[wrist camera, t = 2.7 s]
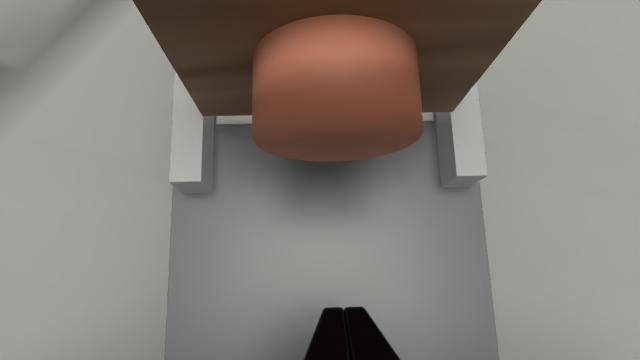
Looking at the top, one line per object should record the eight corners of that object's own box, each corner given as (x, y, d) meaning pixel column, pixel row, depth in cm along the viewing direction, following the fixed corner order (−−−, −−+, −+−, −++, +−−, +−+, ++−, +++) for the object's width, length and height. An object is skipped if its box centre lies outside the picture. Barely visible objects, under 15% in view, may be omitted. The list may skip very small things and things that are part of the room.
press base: (486, 359, 17) (523, 373, 14) (174, 369, 16) (145, 386, 13) (449, 10, 20) (474, -39, 17) (189, 13, 20) (168, -36, 17)
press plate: (458, 171, 15) (608, 51, 7) (200, 177, 14) (87, 58, 7) (450, 88, 15) (580, -99, 8) (203, 93, 15) (103, -97, 8)
